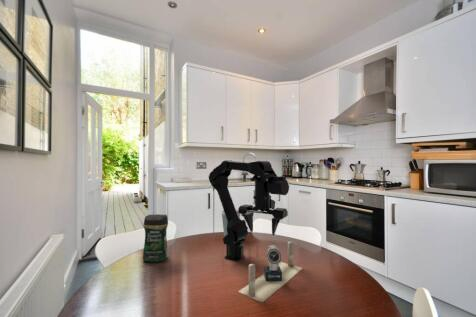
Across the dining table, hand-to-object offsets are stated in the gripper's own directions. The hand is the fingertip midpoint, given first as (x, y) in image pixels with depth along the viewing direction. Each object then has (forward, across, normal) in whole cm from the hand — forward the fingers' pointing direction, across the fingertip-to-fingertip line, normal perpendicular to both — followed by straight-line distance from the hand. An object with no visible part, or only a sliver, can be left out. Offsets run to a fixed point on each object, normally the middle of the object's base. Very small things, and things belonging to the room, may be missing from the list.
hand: (262, 233), depth 90 cm
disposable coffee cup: (+13, +30, -25) cm, 42 cm away
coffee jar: (+13, +42, +16) cm, 47 cm away
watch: (+13, -7, +6) cm, 16 cm away
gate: (+14, -7, +6) cm, 17 cm away
